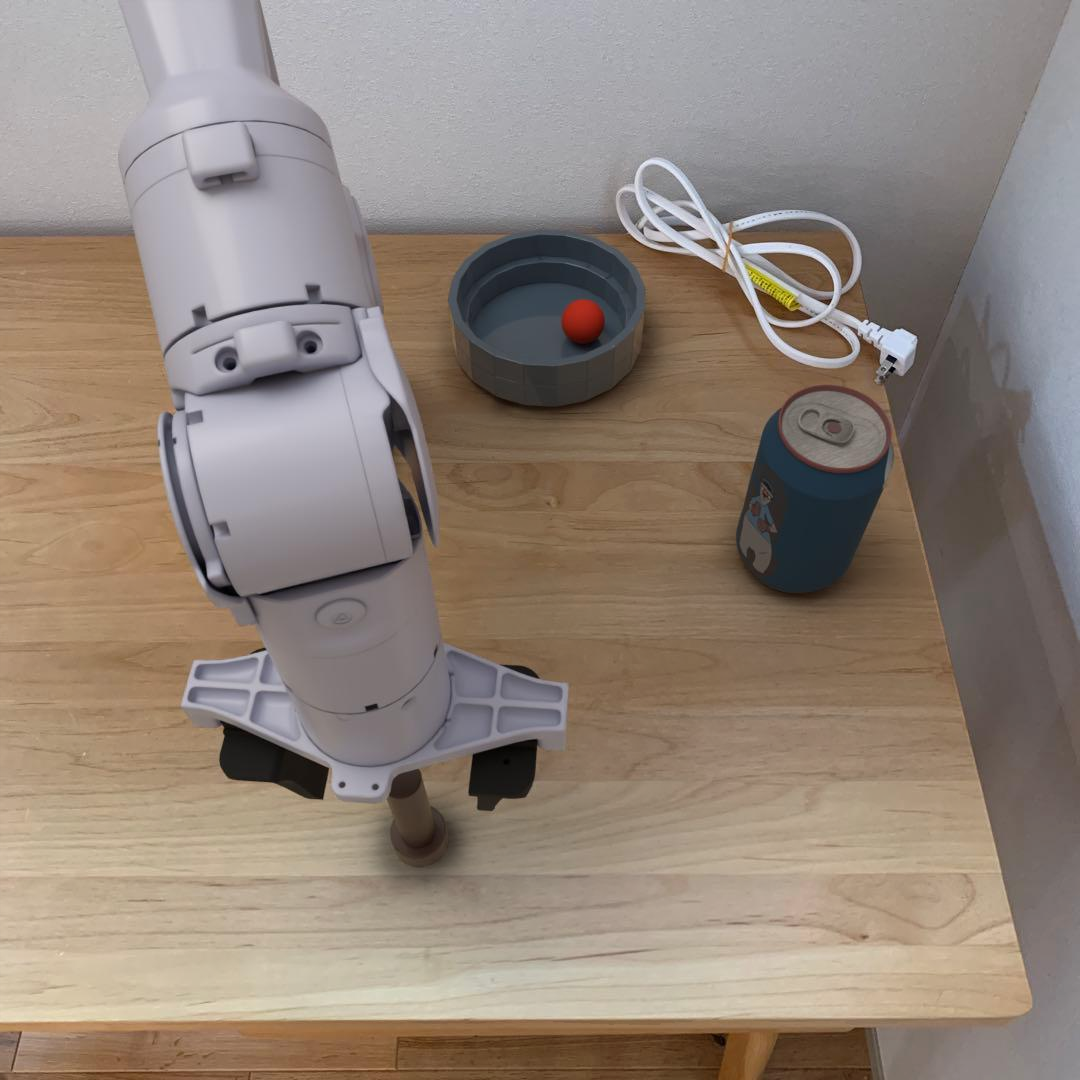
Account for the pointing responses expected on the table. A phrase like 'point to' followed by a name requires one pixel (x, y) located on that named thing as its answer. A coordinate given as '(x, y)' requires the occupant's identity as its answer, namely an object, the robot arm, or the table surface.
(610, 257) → the bowl
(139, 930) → the table surface
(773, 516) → the soda can
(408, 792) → the muddler
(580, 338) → the red ball
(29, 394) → the table surface
